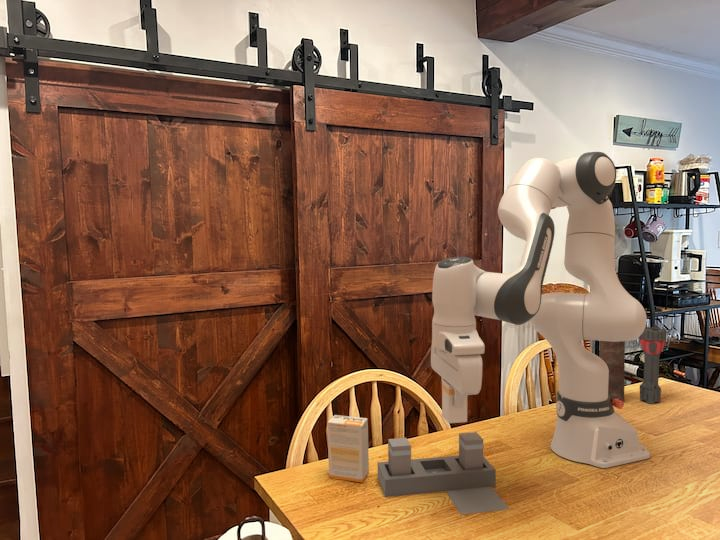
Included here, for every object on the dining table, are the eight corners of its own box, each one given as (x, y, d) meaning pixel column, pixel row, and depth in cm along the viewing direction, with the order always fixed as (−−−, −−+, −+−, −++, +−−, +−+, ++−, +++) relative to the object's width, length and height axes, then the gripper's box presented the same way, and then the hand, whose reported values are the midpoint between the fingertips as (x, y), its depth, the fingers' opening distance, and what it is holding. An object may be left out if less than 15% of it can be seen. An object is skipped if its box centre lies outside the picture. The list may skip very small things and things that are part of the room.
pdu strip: (480, 470, 120) (481, 453, 120) (495, 487, 112) (495, 469, 112) (377, 479, 116) (377, 462, 116) (385, 498, 109) (385, 479, 108)
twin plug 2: (476, 466, 118) (476, 432, 117) (483, 475, 114) (483, 439, 113) (458, 468, 117) (458, 433, 116) (465, 476, 113) (465, 441, 112)
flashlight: (648, 394, 171) (651, 324, 168) (669, 401, 163) (672, 329, 161) (629, 396, 168) (632, 326, 166) (650, 404, 161) (653, 331, 159)
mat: (489, 485, 113) (489, 484, 113) (509, 511, 103) (509, 509, 103) (444, 490, 112) (444, 488, 112) (460, 516, 102) (460, 514, 102)
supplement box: (369, 473, 119) (369, 417, 118) (362, 483, 115) (362, 425, 114) (335, 468, 122) (334, 413, 121) (327, 478, 117) (326, 421, 116)
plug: (460, 414, 112) (460, 378, 111) (467, 421, 108) (467, 383, 107) (441, 416, 111) (441, 379, 110) (448, 423, 107) (448, 385, 106)
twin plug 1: (406, 472, 115) (406, 437, 114) (411, 482, 111) (411, 445, 110) (388, 474, 115) (387, 439, 114) (392, 483, 111) (392, 447, 110)
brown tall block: (601, 403, 163) (603, 339, 161) (594, 395, 170) (596, 334, 168) (627, 404, 162) (629, 340, 160) (619, 396, 169) (622, 335, 167)
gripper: (423, 327, 118) (423, 388, 119) (456, 349, 98) (456, 421, 99) (450, 326, 119) (450, 386, 120) (488, 347, 99) (487, 419, 100)
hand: (453, 402), depth 109 cm, fingers closed on plug, 4 cm apart
